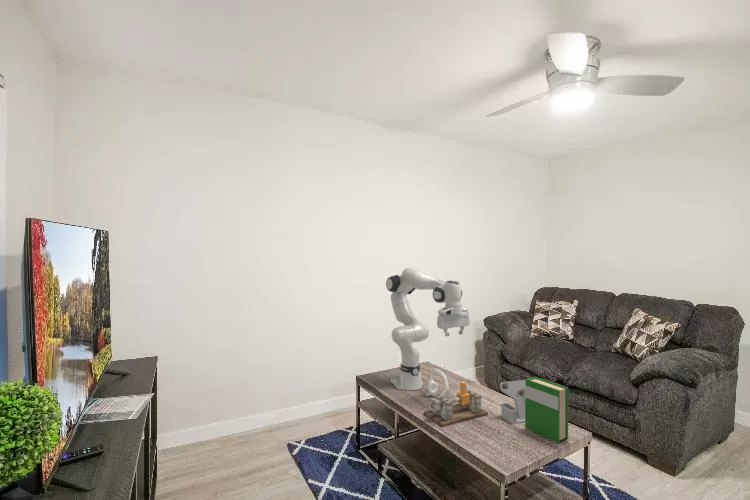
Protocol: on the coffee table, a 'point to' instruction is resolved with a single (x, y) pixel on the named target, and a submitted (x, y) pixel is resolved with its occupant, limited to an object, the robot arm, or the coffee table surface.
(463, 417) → the cord comb board
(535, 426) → the hardback book
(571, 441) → the coffee table surface
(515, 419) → the phone holder
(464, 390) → the sleeve
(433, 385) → the headset
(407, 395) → the coffee table surface
